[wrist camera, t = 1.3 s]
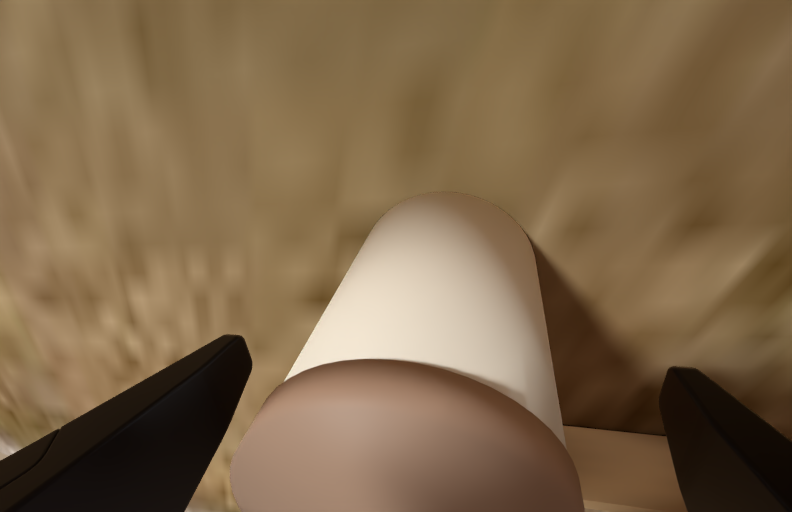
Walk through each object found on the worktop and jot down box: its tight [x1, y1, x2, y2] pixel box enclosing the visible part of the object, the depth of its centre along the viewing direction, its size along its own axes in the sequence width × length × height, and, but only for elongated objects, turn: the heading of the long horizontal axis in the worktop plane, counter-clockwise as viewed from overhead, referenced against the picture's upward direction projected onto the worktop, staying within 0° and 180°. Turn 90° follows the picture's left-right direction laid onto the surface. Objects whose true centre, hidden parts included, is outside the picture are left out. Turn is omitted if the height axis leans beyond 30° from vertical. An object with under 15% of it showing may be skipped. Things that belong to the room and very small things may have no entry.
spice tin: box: [230, 192, 585, 512], centre depth 9 cm, size 5×5×7 cm
